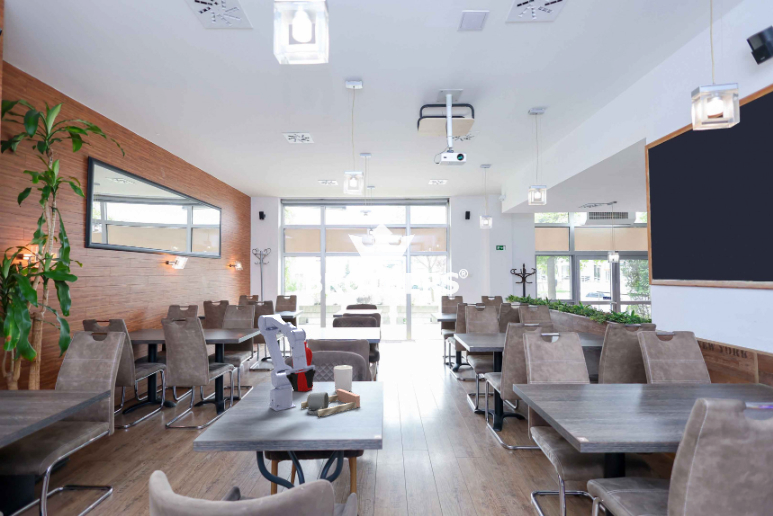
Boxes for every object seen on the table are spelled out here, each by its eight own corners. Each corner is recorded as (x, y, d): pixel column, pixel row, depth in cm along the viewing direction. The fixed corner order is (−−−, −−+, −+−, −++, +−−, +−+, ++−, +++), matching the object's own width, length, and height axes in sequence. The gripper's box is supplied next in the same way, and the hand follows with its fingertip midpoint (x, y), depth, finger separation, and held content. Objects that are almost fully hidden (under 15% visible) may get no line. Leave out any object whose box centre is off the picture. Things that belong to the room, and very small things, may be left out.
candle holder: (356, 391, 216) (355, 367, 217) (338, 394, 211) (338, 370, 212) (348, 387, 225) (347, 364, 225) (330, 390, 220) (330, 366, 220)
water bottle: (296, 386, 228) (296, 339, 229) (315, 388, 225) (314, 340, 226) (287, 391, 219) (287, 342, 220) (306, 392, 216) (306, 343, 217)
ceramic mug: (311, 406, 192) (311, 389, 192) (329, 407, 190) (329, 390, 191) (303, 415, 181) (303, 396, 181) (322, 415, 180) (321, 397, 180)
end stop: (356, 407, 189) (356, 396, 189) (336, 400, 202) (336, 389, 202) (359, 406, 190) (359, 395, 190) (340, 399, 203) (340, 388, 203)
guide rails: (319, 417, 177) (319, 410, 177) (301, 408, 190) (301, 402, 190) (356, 407, 189) (356, 402, 189) (336, 400, 202) (336, 394, 202)
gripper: (291, 358, 175) (295, 392, 173) (317, 354, 187) (322, 385, 184) (281, 360, 180) (284, 393, 177) (307, 355, 191) (311, 386, 188)
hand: (303, 389), depth 181 cm, fingers open, 7 cm apart
